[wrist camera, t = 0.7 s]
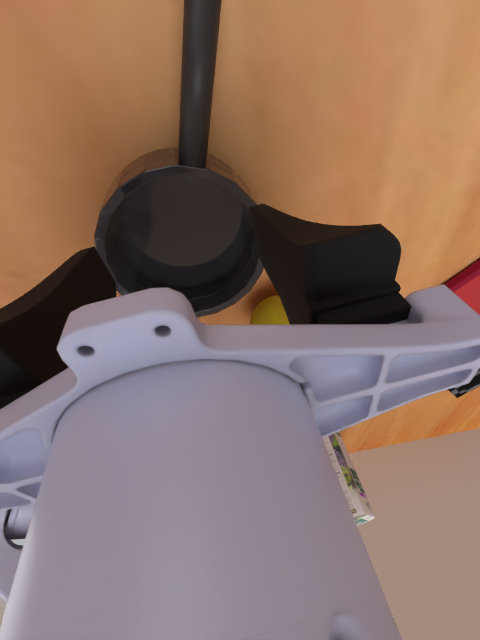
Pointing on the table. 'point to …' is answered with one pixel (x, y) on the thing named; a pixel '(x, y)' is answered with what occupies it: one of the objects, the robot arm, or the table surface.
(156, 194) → the pan
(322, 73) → the table surface
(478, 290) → the red board with handle
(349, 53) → the table surface
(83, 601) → the robot arm
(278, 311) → the lemon
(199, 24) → the pan handle
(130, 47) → the table surface
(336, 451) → the syrup box
